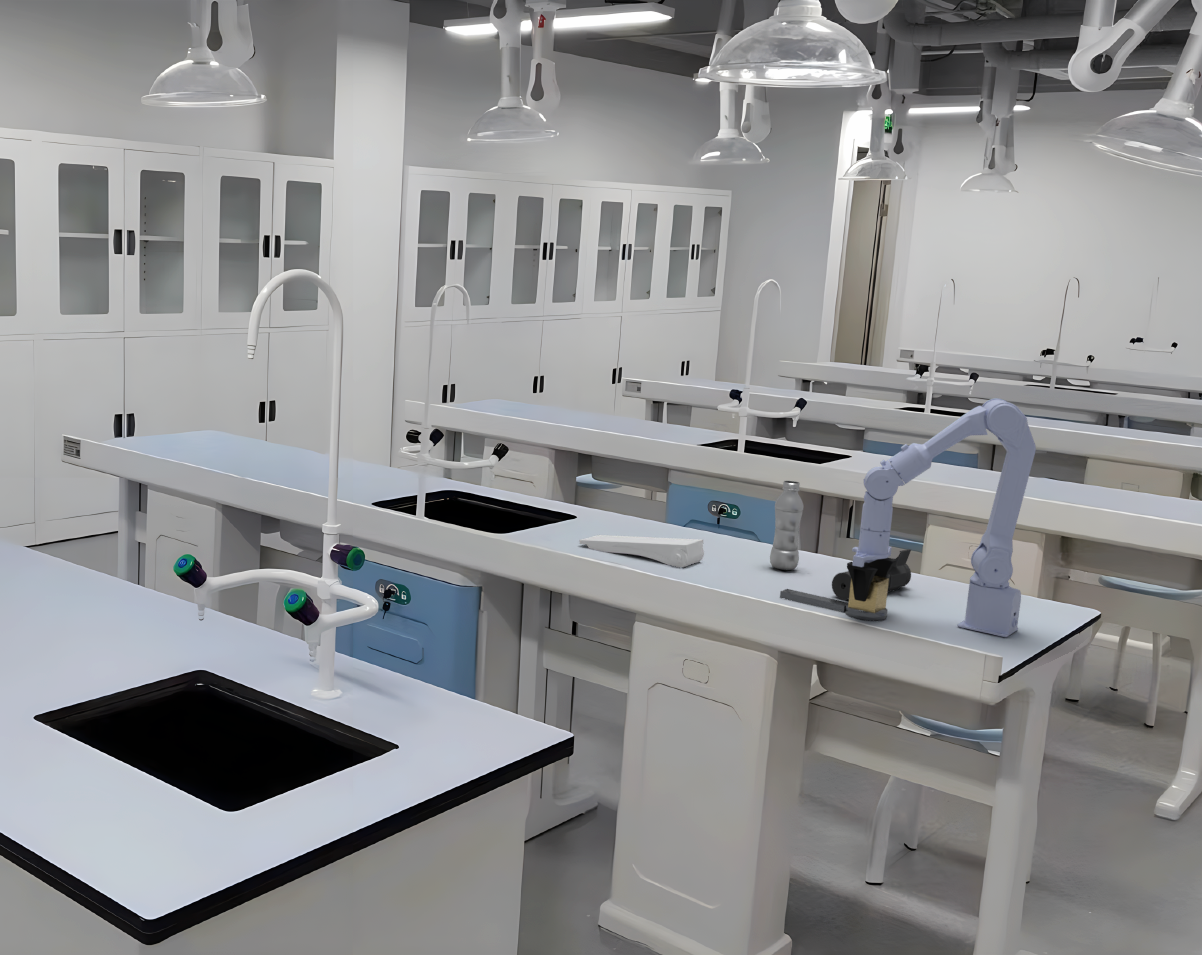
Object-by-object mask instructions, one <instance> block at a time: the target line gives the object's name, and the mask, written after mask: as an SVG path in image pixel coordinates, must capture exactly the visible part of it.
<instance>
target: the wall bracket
mask: <svg viewBox="0 0 1202 955" xmlns="http://www.w3.org/2000/svg"><path fill="white" fill-rule="evenodd" d="M579 544H580V545H586V546H587V547H588V549H590V550H593V551H594V550H595V551H599V552H603V553H604V552H605V553H613V554H614V553H615V554H626V555H627V554H628V555H634V556H641V557H644V558H649V559H651V560H655V561H658V562H660V563H663V564H665V565H668V566H670V565H672V566H671V567H675V566H676V567H675V568H679V567H683V568H685V567H689V566H691V564H692V565H694V563H695V564H697V563H700V562H701V561H702V560H703V558H704V556H705V551H704V539H697V538H694V539H691V538H676V537H675V538H673V537H672V538H671V537H649V536H648V537H647V536H629V535H628V536H626V535H608V534H607V535H605V534H601V535H600V534H597V535H594V536H590V537H586V538H583V539H579ZM688 565H689V566H688Z"/></svg>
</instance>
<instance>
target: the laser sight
mask: <svg viewBox="0 0 1202 955" xmlns="http://www.w3.org/2000/svg"><path fill="white" fill-rule="evenodd" d="M911 551H912V549H909V548H908V549H904V550H899V554H898V556H897V557H896V558H892V557H890V558H891V559H895V560H896V563H895V565H894V566H893V567H892V569H891V571H890V572H889V574H888V577H887V578H889V582H888V591H887V593H889V592H890V593H891V592H893V590H894V591H898V590H899V589H901V588H902V587H905V586H907V585H909V583H910V581H911V580H912V571H911V568H910V566H909V565H908V564H907V561H908V559H909V556H910V554H911ZM850 585H851V576H850V573H849V571H848V570H847V571H843V572H839V573H837V574H835V575H834V576H833V578H832V581H831V589H832V592H833V594H834V595H835V596H836V597H837V598H839V599H840V600H844V601H845V600H849V594H850Z"/></svg>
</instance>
